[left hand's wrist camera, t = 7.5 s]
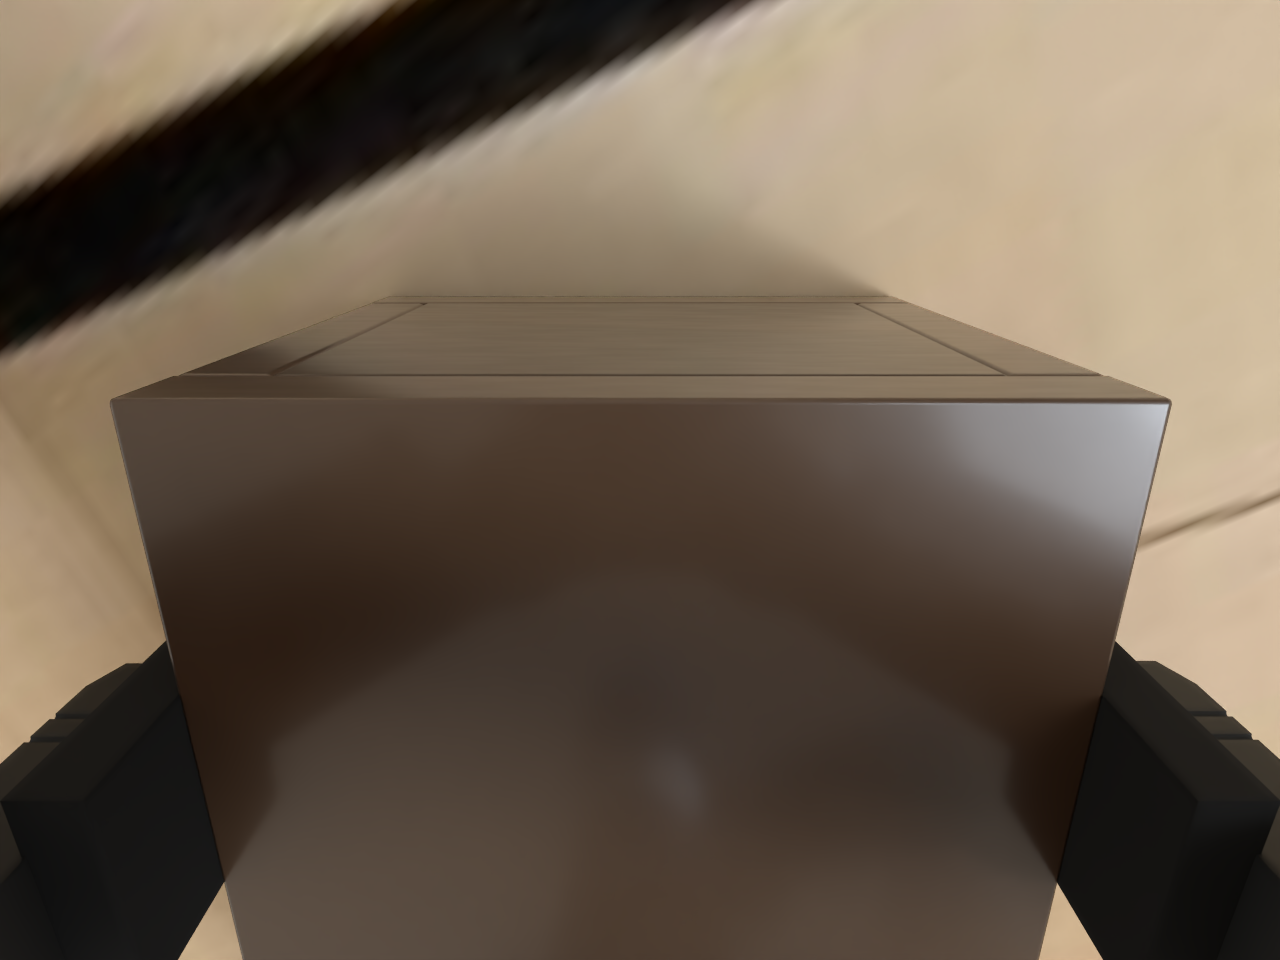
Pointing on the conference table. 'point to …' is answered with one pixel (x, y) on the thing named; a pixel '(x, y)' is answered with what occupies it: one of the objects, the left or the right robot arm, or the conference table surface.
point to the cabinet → (640, 624)
